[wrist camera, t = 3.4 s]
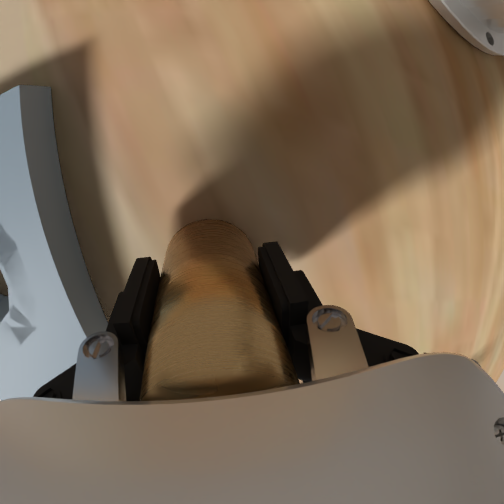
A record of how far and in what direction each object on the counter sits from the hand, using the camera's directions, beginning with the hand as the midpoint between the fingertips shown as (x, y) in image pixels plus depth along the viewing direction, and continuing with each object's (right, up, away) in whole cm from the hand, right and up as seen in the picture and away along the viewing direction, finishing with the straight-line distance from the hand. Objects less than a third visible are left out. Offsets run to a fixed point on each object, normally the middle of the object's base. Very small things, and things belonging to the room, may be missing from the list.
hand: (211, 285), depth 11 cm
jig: (-12, -1, +1) cm, 12 cm away
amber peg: (0, +1, +2) cm, 2 cm away
